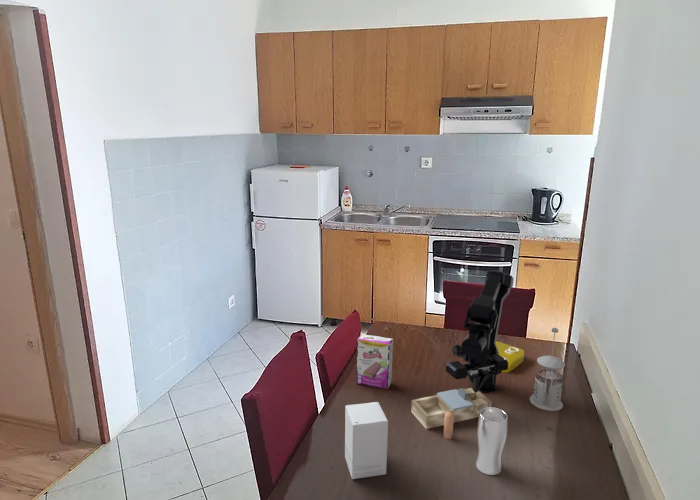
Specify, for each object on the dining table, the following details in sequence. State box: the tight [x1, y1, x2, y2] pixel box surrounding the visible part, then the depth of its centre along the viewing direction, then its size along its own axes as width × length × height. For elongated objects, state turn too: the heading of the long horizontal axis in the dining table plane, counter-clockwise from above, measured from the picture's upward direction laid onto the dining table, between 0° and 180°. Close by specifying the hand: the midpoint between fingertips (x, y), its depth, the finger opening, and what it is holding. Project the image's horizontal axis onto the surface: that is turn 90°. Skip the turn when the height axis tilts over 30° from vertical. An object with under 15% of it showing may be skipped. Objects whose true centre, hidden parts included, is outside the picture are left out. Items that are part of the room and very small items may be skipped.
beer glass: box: [475, 406, 509, 476], centre depth 117 cm, size 7×7×15 cm
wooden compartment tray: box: [410, 387, 493, 430], centre depth 141 cm, size 22×9×4 cm, turn 111°
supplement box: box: [344, 401, 389, 480], centre depth 117 cm, size 9×9×15 cm
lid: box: [436, 387, 473, 411], centre depth 141 cm, size 7×9×3 cm
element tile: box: [496, 340, 525, 374], centre depth 175 cm, size 15×15×5 cm
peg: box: [442, 412, 454, 440], centre depth 130 cm, size 2×2×7 cm
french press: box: [529, 327, 566, 412], centre depth 144 cm, size 10×12×25 cm
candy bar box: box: [355, 333, 394, 390], centre depth 156 cm, size 11×5×16 cm, turn 71°
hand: (475, 391), depth 143 cm, fingers closed
